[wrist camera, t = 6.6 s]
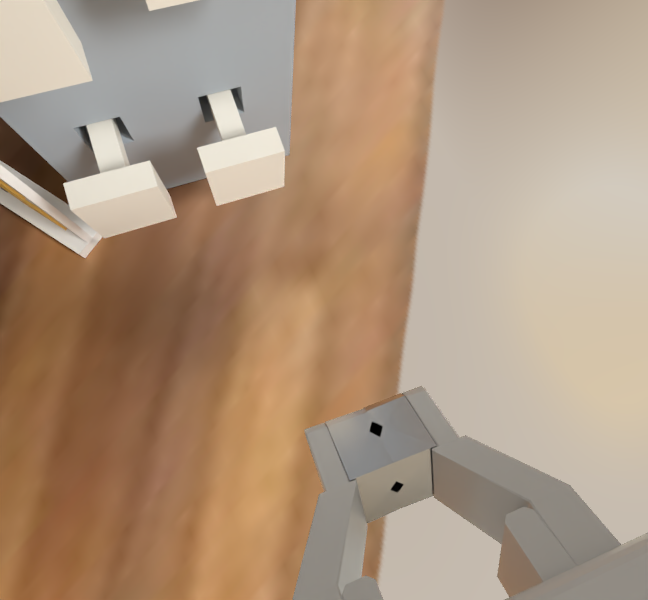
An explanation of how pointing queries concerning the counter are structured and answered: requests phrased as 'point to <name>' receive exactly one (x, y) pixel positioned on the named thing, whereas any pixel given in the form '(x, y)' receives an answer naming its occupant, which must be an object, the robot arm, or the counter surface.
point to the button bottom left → (118, 188)
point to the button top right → (164, 3)
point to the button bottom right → (240, 155)
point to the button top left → (38, 49)
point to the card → (45, 211)
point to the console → (164, 82)
